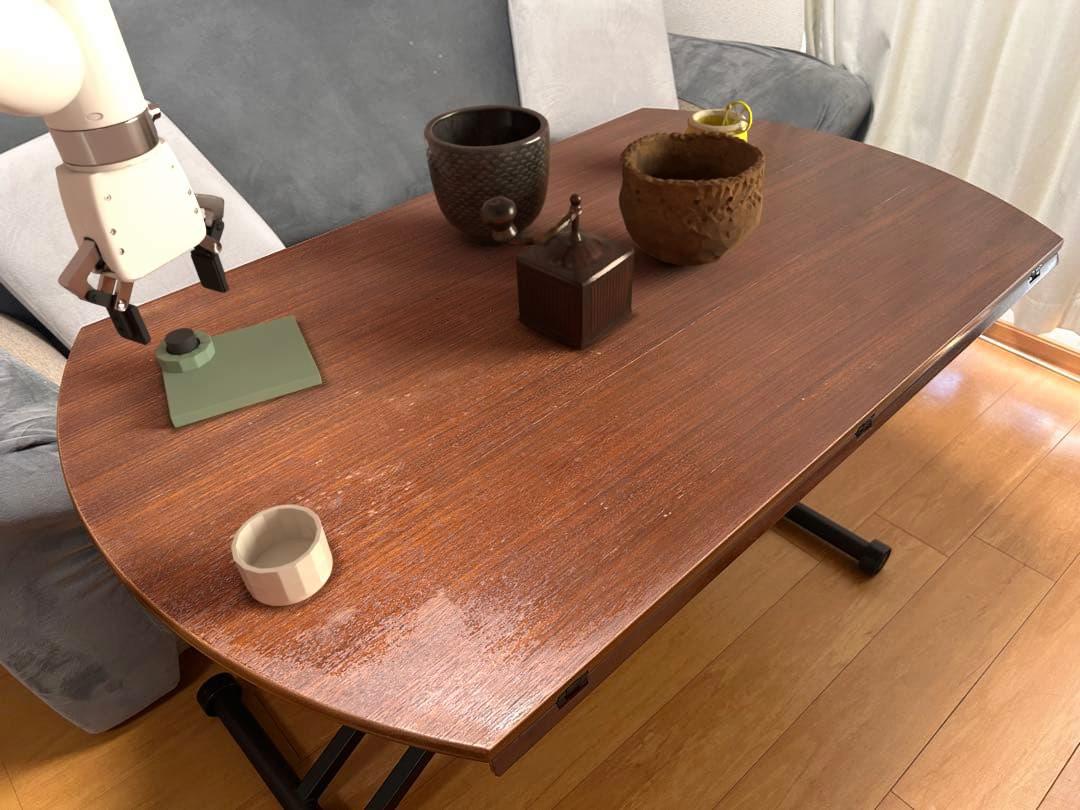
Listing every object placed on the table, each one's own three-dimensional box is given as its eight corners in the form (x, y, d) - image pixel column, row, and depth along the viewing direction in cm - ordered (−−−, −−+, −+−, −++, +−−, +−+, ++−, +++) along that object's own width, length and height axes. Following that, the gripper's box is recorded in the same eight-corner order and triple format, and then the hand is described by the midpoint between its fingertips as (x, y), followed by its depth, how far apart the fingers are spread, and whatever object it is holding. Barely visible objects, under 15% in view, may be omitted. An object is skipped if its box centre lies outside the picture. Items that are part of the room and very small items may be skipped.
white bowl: (255, 619, 62) (239, 585, 59) (240, 556, 67) (225, 523, 64) (342, 585, 64) (331, 551, 62) (321, 527, 70) (310, 493, 67)
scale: (174, 428, 81) (164, 407, 79) (161, 360, 91) (152, 339, 89) (322, 383, 86) (316, 362, 84) (295, 323, 96) (289, 303, 94)
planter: (531, 267, 105) (526, 154, 94) (418, 252, 109) (401, 143, 99) (565, 213, 117) (564, 108, 107) (463, 202, 122) (452, 100, 111)
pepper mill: (565, 286, 101) (563, 153, 89) (633, 314, 95) (641, 176, 83) (484, 339, 92) (470, 200, 80) (554, 373, 86) (550, 229, 74)
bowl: (588, 254, 107) (589, 150, 97) (680, 214, 116) (689, 115, 106) (686, 308, 95) (698, 196, 86) (780, 259, 104) (801, 153, 95)
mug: (673, 154, 133) (679, 84, 126) (735, 151, 134) (744, 80, 126) (689, 184, 124) (696, 110, 116) (755, 180, 124) (767, 106, 116)
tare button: (171, 359, 86) (165, 346, 85) (168, 344, 88) (163, 332, 87) (200, 351, 87) (195, 338, 86) (196, 337, 90) (191, 324, 88)
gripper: (158, 98, 69) (217, 264, 80) (-23, 170, 57) (75, 352, 68) (218, 108, 66) (270, 279, 77) (41, 186, 55) (132, 373, 66)
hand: (178, 313), depth 73 cm, fingers open, 9 cm apart
